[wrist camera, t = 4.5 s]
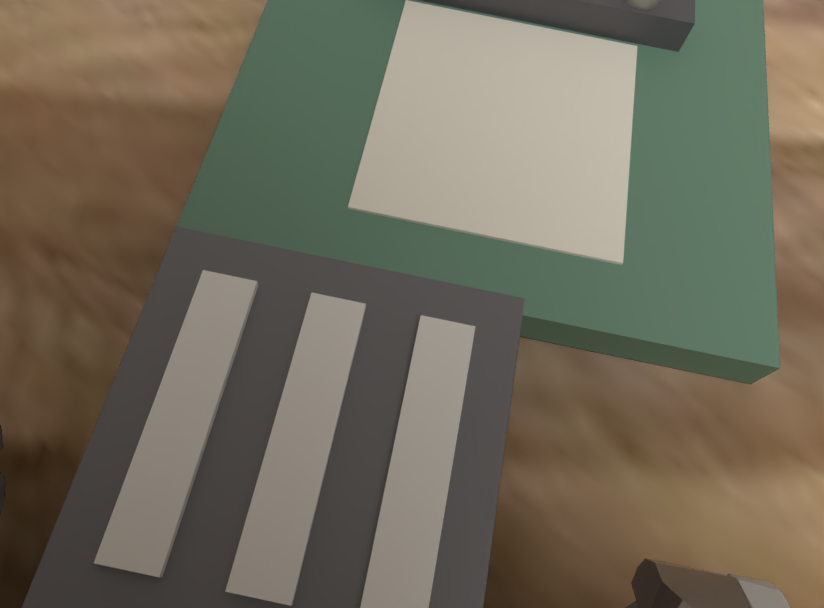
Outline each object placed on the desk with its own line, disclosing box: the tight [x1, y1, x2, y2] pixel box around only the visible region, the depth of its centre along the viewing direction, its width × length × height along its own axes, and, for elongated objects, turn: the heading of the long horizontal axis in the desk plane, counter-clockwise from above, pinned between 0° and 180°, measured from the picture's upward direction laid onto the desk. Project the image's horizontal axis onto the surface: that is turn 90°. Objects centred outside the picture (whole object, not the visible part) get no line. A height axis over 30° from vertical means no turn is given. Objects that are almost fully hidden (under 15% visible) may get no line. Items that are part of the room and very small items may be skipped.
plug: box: [22, 227, 525, 608], centre depth 10 cm, size 4×4×8 cm
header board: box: [177, 0, 780, 384], centre depth 15 cm, size 14×12×7 cm
